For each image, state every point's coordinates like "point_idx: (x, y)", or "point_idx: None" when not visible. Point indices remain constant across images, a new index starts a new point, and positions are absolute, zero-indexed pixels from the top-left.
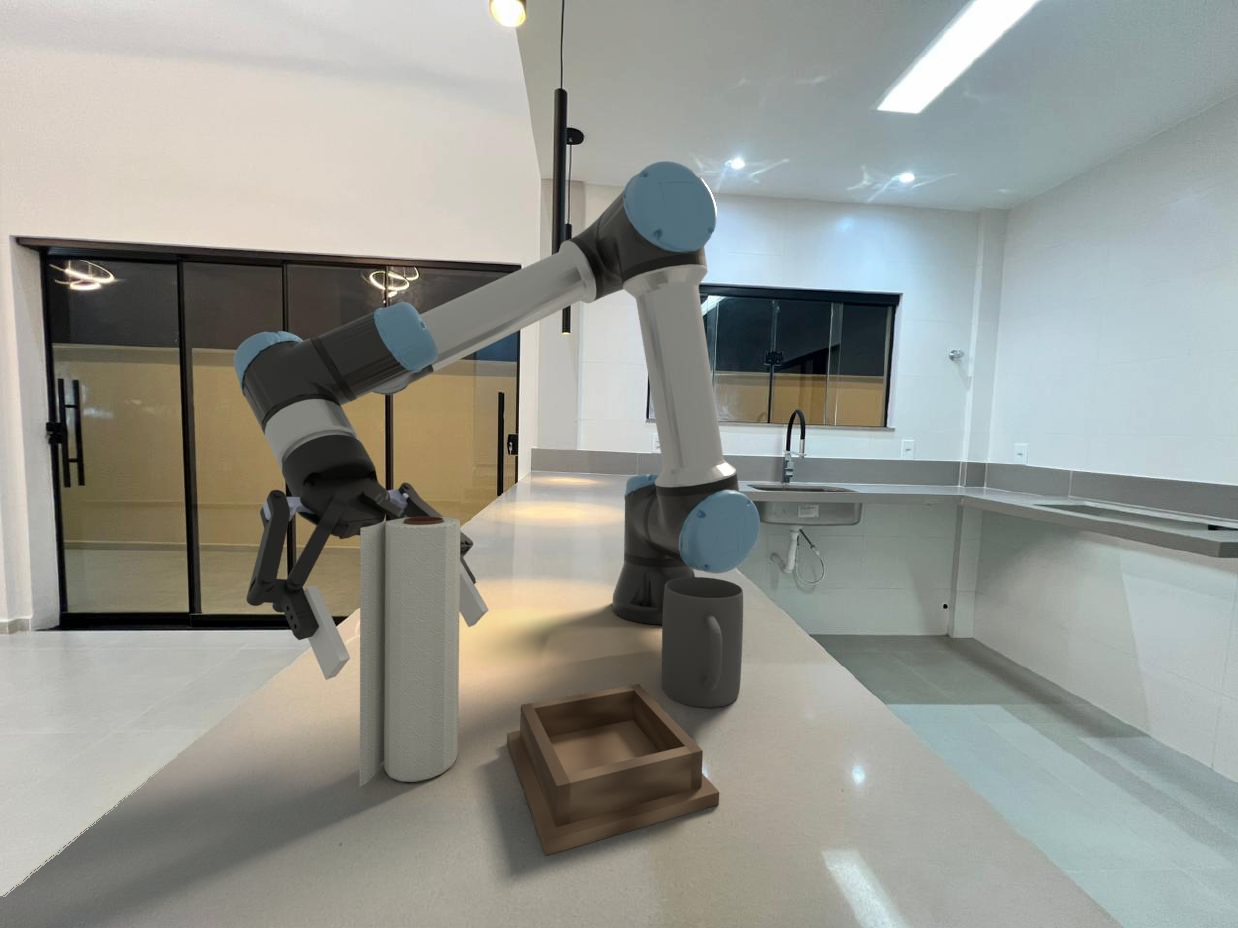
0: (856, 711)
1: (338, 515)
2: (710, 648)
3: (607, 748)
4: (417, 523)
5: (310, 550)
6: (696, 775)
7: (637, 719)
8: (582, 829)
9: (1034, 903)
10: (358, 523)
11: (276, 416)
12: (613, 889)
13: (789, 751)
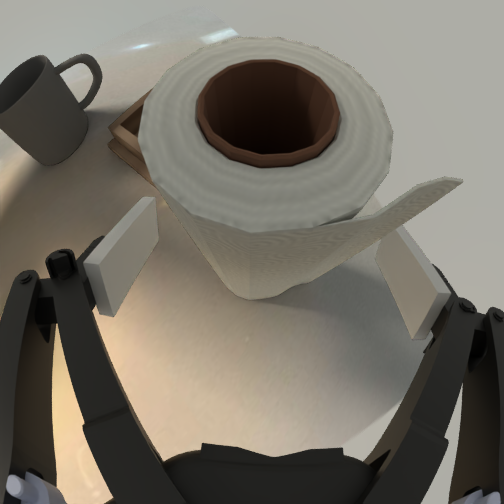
0: (77, 64)
1: (398, 459)
2: (92, 64)
3: None
4: (325, 84)
5: (456, 361)
6: None
7: (133, 131)
8: None
9: (202, 9)
10: (301, 453)
11: None
12: None
13: (128, 69)
